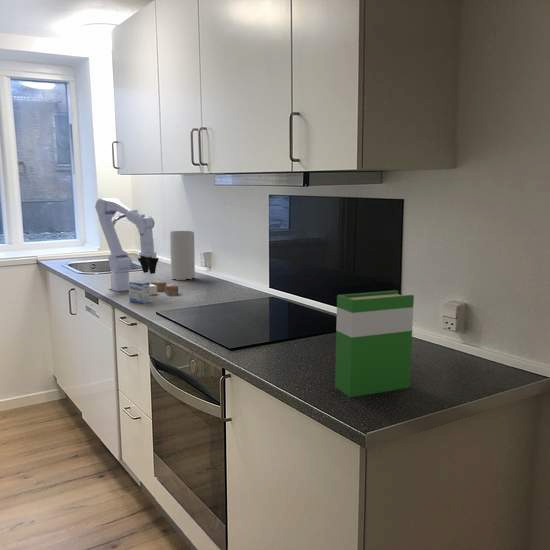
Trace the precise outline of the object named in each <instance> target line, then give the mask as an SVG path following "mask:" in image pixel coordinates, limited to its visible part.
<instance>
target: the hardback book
mask: <svg viewBox="0 0 550 550" xmlns="http://www.w3.org/2000/svg"><path fill="white" fill-rule="evenodd" d="M414 297H415V295H413V294H406V295H405V294H404V295H402V294H399V290H396V289H395V290H386V291H385V290H384V291H382V290H381V291H372V292H371V291H370V292H360V293H347V294H346V293H345V294H338V295H337V296H336V327H335V329H336V330H335V333H336V334H335V362H334V363H335V373H334V388H335V389H336V388H337V389H336V390H337V391H339V390H340V392H341V393H342V392H343V394H344V395H345V396H347V397H349V398H354V397H360V396H361V397H362V396H366V395H368V396H369V395H372V394H379V393H380V394H381V393H385V392H392V391H398V390H397V389H399V390H403V388H405V389H409V388H408V387H410V388H411V368H412V367H411V366H412V345H413V343H412V342H413V326H414V325H413V321H414V304H415V303H414V301H415V300H414V299H415V298H414Z"/></svg>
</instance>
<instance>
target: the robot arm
mask: <svg viewBox="0 0 550 550" xmlns="http://www.w3.org/2000/svg"><path fill="white" fill-rule="evenodd" d="M94 208H95V211H96V212H97V215H98V222H99V223H100V226H101V229H102V233H103V235H104V237H105V240H106V242H107V245H108V249H109V251H110V255H108V258H107V259H108V265H109V269H110V270H111V273H110V287H109V289H108V290H111V289H112V291H114V292H125V291H129V282H130V271H131V269H132V267H133V260H132V259H131V257H130V256H129V253H128V252H126V251H125V250H124V249H123V248H122V245H121V242H120V240H119V237H118V234H117V231H116V228H115V226H114V223H113V221H112V219H113V218H114V217H115V215H116V213H117V212H119V213H120V214H122V215H124V216H125V217H126V220H128V221H129V222H130V223H132V224H134V225H135V226H136V229H137V231H138V232H137V233H138V234H139V241H140V252H139V257H138V258H137V260H138V262H139V263H140V266H141V269H142V272H143V273H144V274H145V273H150V274H151V275H153V274H156V270H157V265H158V262H159V257H157V252H156V251H155V248H154V247H155V246H154V236H153V234H154V233H153V228H154V227H155V220H154V218H153V217H152V216H151V215H150V216H146V215H145V214H144V213H141V212H139V210H138V209H137V208H132V209H130V208H129V207H128V206H126V205H125V204H124V203H122V202H121V200H119V199H118V198H117V197H112V198H111V197H110V198H103V197H102V198H98V199H97V200H96V203H95V206H94Z"/></svg>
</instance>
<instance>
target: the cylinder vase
mask: <svg viewBox="0 0 550 550" xmlns="http://www.w3.org/2000/svg"><path fill="white" fill-rule="evenodd" d="M169 237H170V238H169V241H170V243H169V245H170V248H169V249H170V278H171V279H172V280H173V279H176V280H175V281H187V280H186V279H191V280H193V279H192V278H194V277H196V274H195V272H196V269H195V268H196V266H195V265H196V263H195V262H196V261H195V260H196V259H195V231H192V230H172V231H170V232H169ZM194 279H195V278H194Z"/></svg>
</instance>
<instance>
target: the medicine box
mask: <svg viewBox="0 0 550 550" xmlns="http://www.w3.org/2000/svg"><path fill="white" fill-rule="evenodd" d="M128 291H129V292H128V295H129V296H128V297H129V302H130V303H135V302H137V304H143V303H144V304H147V302H148V303H150V302H151V295H150V282H146V281H138V280H133V281H129V290H128Z"/></svg>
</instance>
